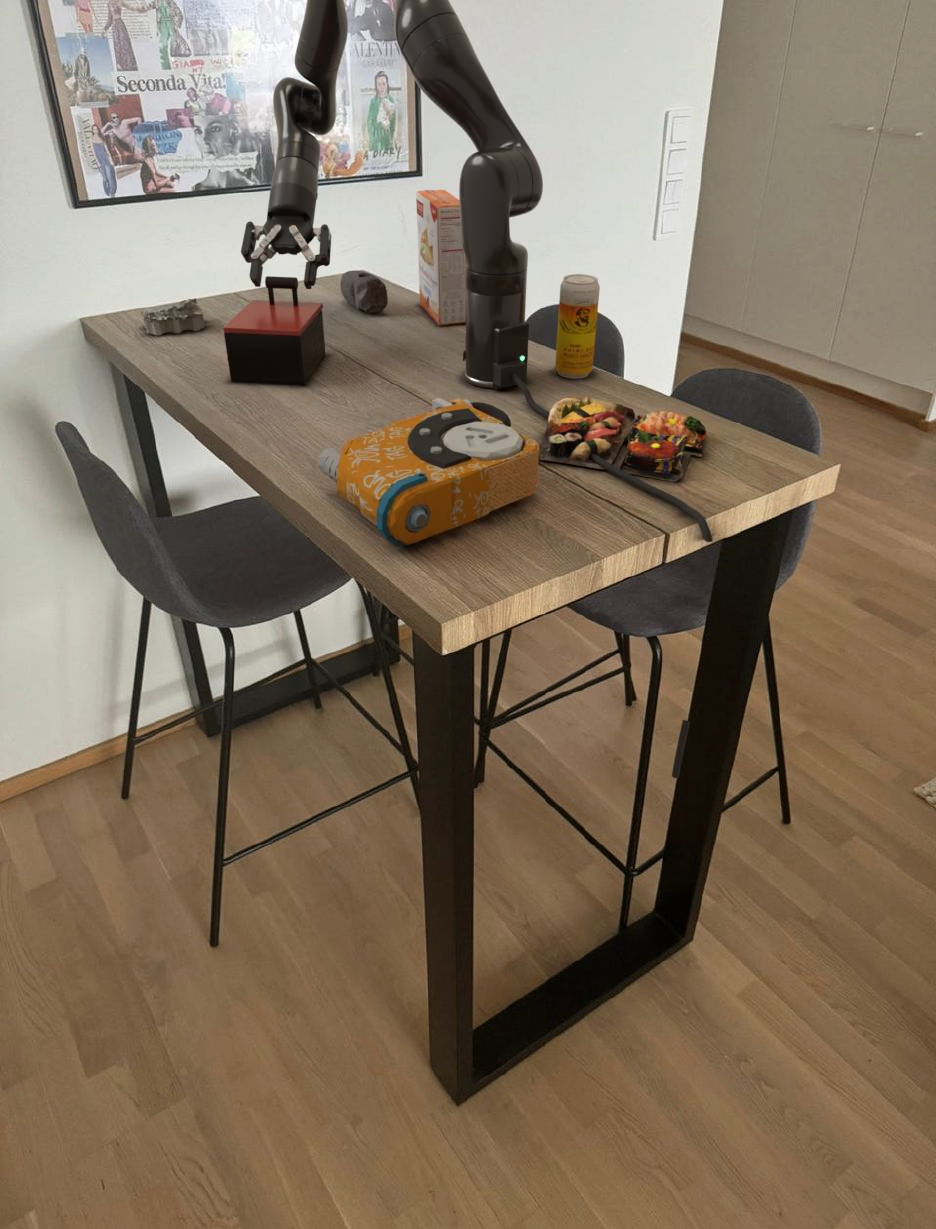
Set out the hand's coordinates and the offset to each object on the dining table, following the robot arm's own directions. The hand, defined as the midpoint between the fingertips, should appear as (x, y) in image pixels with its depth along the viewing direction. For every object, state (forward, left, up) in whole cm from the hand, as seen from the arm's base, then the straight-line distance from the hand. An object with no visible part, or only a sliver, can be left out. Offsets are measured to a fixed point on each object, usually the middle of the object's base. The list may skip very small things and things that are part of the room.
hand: (281, 285), depth 145 cm
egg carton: (+26, +9, -12) cm, 30 cm away
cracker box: (+3, -35, -12) cm, 37 cm away
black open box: (-4, +4, -12) cm, 13 cm away
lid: (-4, +4, -4) cm, 7 cm away
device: (-54, +9, -12) cm, 56 cm away
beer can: (-35, -33, -12) cm, 50 cm away
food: (-59, -19, -12) cm, 63 cm away
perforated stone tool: (+16, -25, -12) cm, 32 cm away
